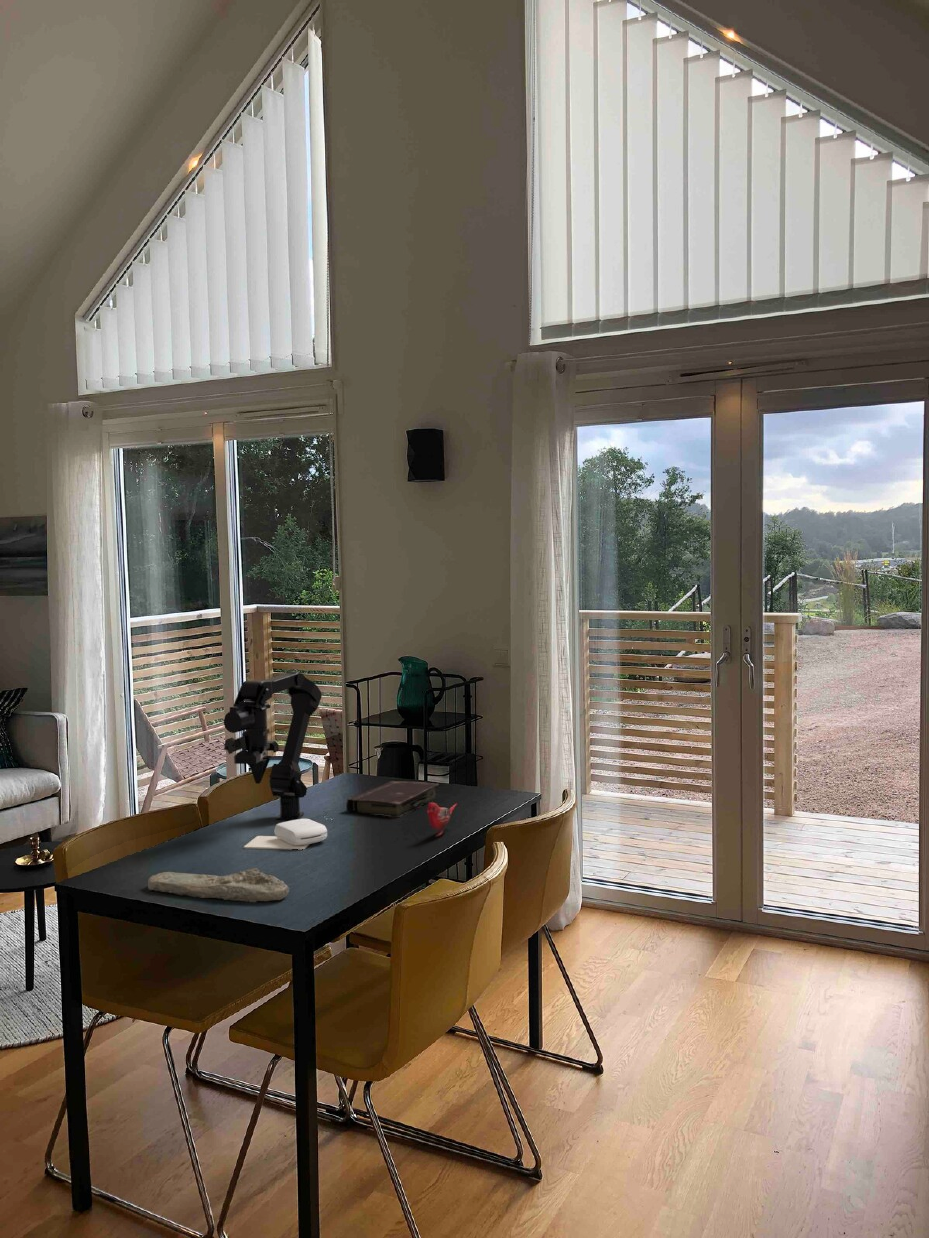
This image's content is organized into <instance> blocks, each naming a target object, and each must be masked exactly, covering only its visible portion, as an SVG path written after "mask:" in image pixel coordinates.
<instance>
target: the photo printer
mask: <svg viewBox="0 0 929 1238" xmlns="http://www.w3.org/2000/svg"><path fill="white" fill-rule="evenodd" d="M273 831H274V832H273V833H274V834H275V835H274V836H277V838H279V839H281V840H283V841H285V842H288V843H290V844H292V845H306V844H309V845H310V844H316V843H319V842H321V841H324V840H325V839H327V838H328V829H327V827H326V826H325V824H322V823H320V822H317V821H314V820H312V819H309V818H299V819H296V820H295V819H291V820H288V821H282V822H279V823H276V825H275V827H274V830H273Z"/></svg>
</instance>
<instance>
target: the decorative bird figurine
mask: <svg viewBox="0 0 929 1238" xmlns="http://www.w3.org/2000/svg"><path fill="white" fill-rule="evenodd" d="M457 805H458V803H455V804H454V805H452V806H451V807H449V808H447V807H440V806H439V805H438V803H437V802H436V803H435V802H434V801H432V802H429V803H428V806H427V810H426V811H427V816H428V821H429V824H430V826H431V827H432V828H433V829H434V830H437V831H439V832H438V833H437V835H435V837H440V836H441V835H443V833H444V828H446V827H447V825H448V823H449V822H450V820H451V817H452V813H453V811H454V809H456V807H457ZM435 837H434V838H435Z"/></svg>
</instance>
